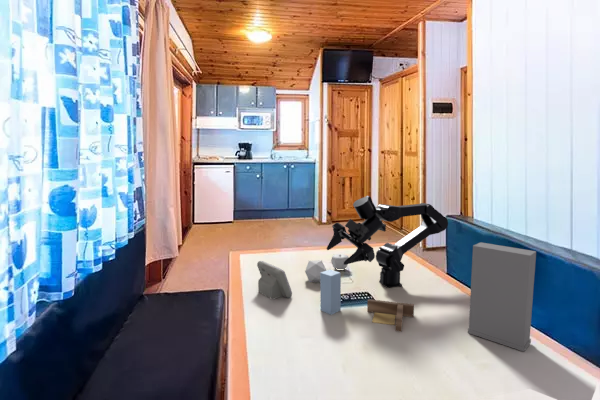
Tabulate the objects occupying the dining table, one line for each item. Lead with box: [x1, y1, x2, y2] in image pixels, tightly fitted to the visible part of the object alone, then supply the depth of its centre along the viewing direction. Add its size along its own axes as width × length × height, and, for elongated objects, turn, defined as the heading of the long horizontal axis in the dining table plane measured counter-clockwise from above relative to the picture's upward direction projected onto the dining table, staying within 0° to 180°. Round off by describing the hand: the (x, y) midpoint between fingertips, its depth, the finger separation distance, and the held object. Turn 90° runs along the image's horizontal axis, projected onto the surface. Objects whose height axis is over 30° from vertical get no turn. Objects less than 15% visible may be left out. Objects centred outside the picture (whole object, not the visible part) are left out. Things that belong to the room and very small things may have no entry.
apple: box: [330, 253, 350, 270], centre depth 160 cm, size 8×8×7 cm
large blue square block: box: [319, 269, 342, 316], centre depth 119 cm, size 4×4×12 cm
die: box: [304, 260, 327, 283], centre depth 146 cm, size 8×9×10 cm
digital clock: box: [256, 260, 293, 300], centre depth 134 cm, size 16×9×11 cm, turn 26°
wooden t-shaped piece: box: [366, 298, 415, 333], centre depth 112 cm, size 12×14×4 cm
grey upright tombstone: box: [467, 241, 537, 352], centre depth 99 cm, size 14×6×25 cm, turn 44°
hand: (335, 256), depth 130 cm, fingers open, 9 cm apart
